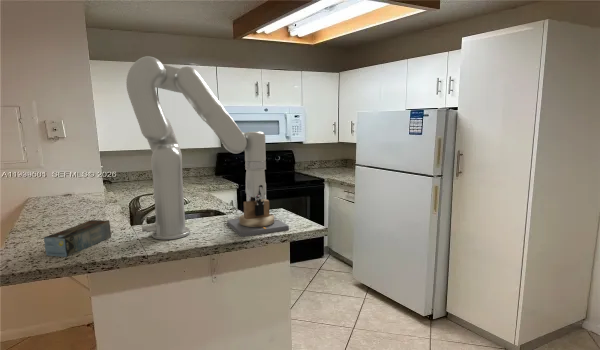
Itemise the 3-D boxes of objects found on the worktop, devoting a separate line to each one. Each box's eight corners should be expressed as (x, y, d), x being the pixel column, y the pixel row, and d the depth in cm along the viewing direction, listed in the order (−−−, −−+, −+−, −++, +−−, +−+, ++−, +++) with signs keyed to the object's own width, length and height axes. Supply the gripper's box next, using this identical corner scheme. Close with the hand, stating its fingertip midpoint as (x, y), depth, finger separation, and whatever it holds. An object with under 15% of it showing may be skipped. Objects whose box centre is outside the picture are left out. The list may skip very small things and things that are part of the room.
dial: (245, 228, 126) (245, 206, 125) (235, 220, 137) (234, 199, 136) (279, 224, 132) (279, 202, 130) (266, 216, 143) (266, 196, 142)
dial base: (241, 236, 123) (241, 232, 123) (227, 223, 139) (227, 219, 138) (288, 229, 131) (288, 225, 130) (270, 218, 147) (270, 214, 146)
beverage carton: (44, 256, 107) (41, 234, 106) (93, 236, 125) (91, 218, 124) (66, 258, 105) (64, 236, 104) (112, 237, 124) (111, 219, 123)
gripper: (238, 163, 137) (240, 209, 140) (253, 168, 122) (254, 220, 125) (257, 162, 141) (258, 207, 143) (273, 167, 125) (274, 217, 128)
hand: (256, 213), depth 134 cm, fingers open, 5 cm apart
